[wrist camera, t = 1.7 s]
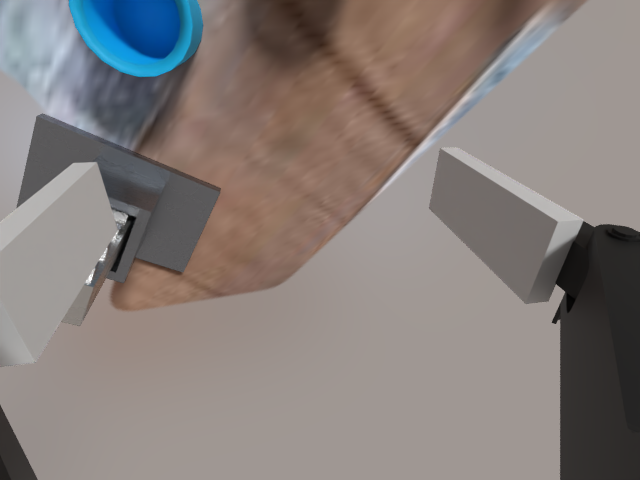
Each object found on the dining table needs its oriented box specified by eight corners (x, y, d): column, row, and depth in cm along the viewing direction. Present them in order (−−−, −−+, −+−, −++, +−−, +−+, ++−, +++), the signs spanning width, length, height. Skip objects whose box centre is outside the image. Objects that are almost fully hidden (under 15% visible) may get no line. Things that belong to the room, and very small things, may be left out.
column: (93, 219, 40) (16, 319, 26) (107, 176, 38) (31, 260, 24) (131, 232, 41) (77, 333, 28) (147, 191, 39) (96, 278, 26)
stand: (19, 214, 39) (-40, 264, 31) (42, 113, 35) (-20, 140, 27) (184, 267, 46) (171, 319, 38) (220, 188, 42) (215, 228, 34)
